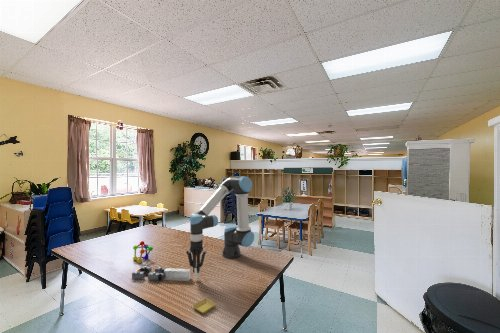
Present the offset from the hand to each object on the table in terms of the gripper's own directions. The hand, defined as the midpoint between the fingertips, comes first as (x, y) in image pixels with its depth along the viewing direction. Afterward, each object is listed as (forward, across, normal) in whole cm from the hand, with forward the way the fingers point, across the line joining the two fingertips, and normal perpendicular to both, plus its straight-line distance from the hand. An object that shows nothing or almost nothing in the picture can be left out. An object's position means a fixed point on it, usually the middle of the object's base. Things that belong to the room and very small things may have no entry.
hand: (196, 277), depth 138 cm
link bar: (+2, +13, 0) cm, 13 cm away
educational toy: (+2, +54, -24) cm, 59 cm away
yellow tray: (+2, -15, +26) cm, 30 cm away
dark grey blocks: (+2, +30, 0) cm, 30 cm away
